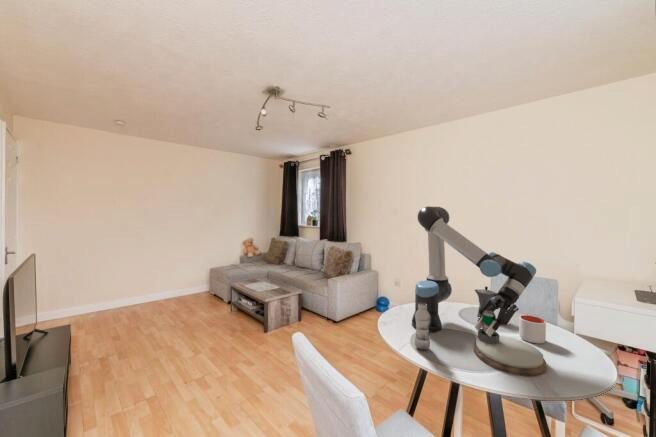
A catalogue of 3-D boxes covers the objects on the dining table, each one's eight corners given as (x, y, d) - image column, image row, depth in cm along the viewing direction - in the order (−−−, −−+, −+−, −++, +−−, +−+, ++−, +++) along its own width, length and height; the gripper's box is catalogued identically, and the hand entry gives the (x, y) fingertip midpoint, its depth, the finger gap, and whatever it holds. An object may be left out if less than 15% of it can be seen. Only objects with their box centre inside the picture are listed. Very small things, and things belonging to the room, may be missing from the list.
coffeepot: (470, 315, 156) (470, 285, 156) (477, 311, 162) (477, 282, 162) (499, 324, 144) (499, 291, 144) (506, 320, 150) (506, 288, 149)
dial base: (471, 362, 107) (471, 356, 107) (476, 338, 128) (476, 333, 128) (550, 384, 93) (550, 378, 93) (542, 353, 114) (542, 348, 114)
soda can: (479, 336, 119) (479, 310, 119) (490, 336, 119) (490, 309, 119) (487, 342, 114) (487, 314, 114) (498, 341, 114) (498, 314, 114)
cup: (550, 345, 121) (550, 324, 121) (525, 343, 123) (526, 322, 123) (537, 335, 131) (538, 315, 130) (515, 333, 132) (515, 314, 132)
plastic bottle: (418, 343, 123) (418, 300, 123) (432, 348, 118) (433, 304, 118) (411, 348, 119) (412, 304, 118) (426, 353, 114) (426, 308, 113)
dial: (553, 357, 107) (553, 344, 107) (528, 375, 95) (528, 361, 94) (489, 333, 128) (489, 322, 128) (462, 346, 115) (462, 334, 115)
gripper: (535, 302, 112) (505, 346, 108) (497, 290, 129) (470, 328, 125) (526, 291, 110) (496, 335, 106) (489, 281, 128) (461, 318, 123)
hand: (482, 331), depth 115 cm, fingers closed on soda can, 5 cm apart
